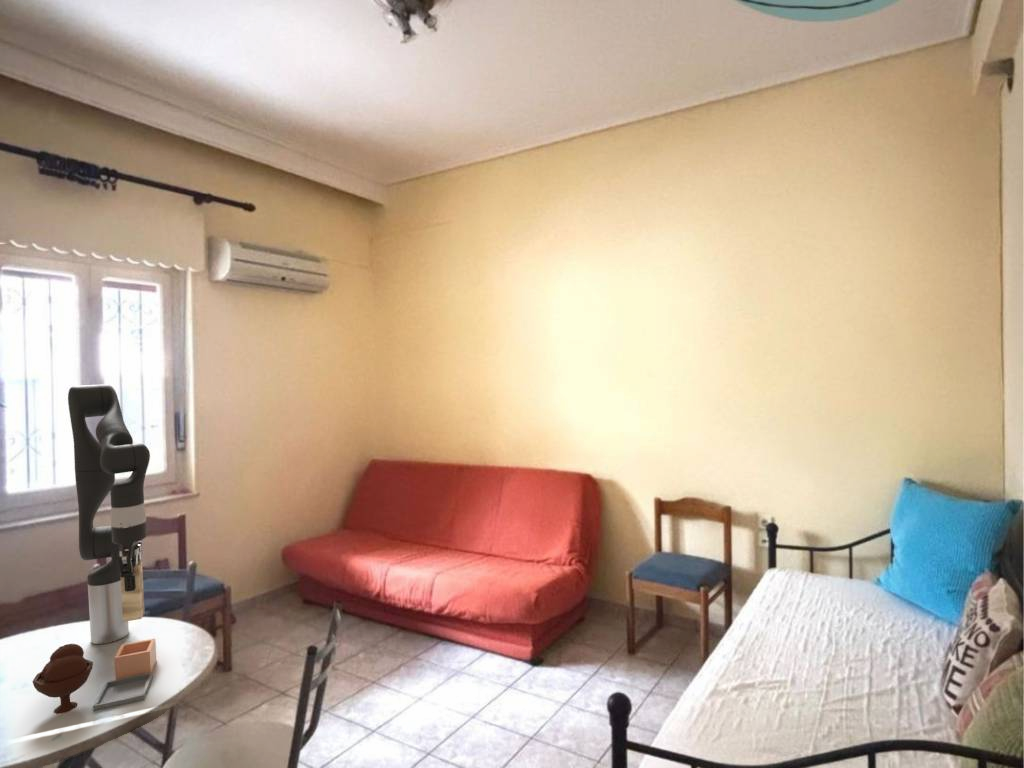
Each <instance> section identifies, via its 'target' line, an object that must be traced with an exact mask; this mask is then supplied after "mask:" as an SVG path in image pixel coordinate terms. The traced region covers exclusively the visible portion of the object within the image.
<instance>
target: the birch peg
mask: <svg viewBox="0 0 1024 768" xmlns="http://www.w3.org/2000/svg"><path fill="white" fill-rule="evenodd" d="M133 563H134V562H132V564H133ZM129 571H130V570H129V569H126V572H129ZM135 573H136V574H135V585H136V588H135V590H134V591H128V592H126V591H125V583H124V578H123V577H122V578H121V595H122V614H123V622H126V621H128V622H129V621H130V622H131V621H136V620H137V621H138V620H141V619H142V618H143V616H144V615H145V596H144V595H145V594H144V577H143V576H144V575H143V573H144V572H143V560H142V559H141V561H137V566H135ZM120 577H121V573H120Z"/></svg>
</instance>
